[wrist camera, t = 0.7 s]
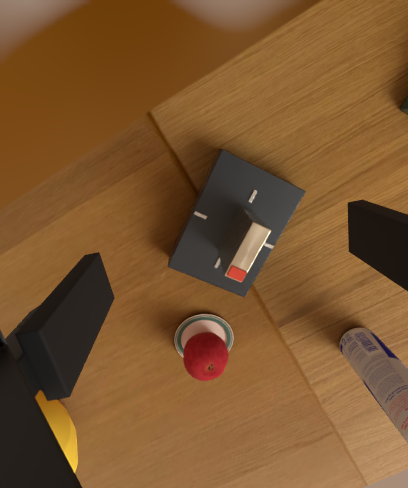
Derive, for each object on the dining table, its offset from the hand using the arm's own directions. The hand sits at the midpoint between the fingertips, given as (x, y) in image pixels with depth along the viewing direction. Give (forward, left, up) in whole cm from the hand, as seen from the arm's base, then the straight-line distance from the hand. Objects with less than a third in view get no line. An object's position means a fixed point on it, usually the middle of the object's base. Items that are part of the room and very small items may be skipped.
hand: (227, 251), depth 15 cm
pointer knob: (+2, +4, -16) cm, 17 cm away
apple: (+18, +8, -20) cm, 28 cm away
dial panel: (+2, +4, -19) cm, 20 cm away
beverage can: (+10, +28, -20) cm, 36 cm away
